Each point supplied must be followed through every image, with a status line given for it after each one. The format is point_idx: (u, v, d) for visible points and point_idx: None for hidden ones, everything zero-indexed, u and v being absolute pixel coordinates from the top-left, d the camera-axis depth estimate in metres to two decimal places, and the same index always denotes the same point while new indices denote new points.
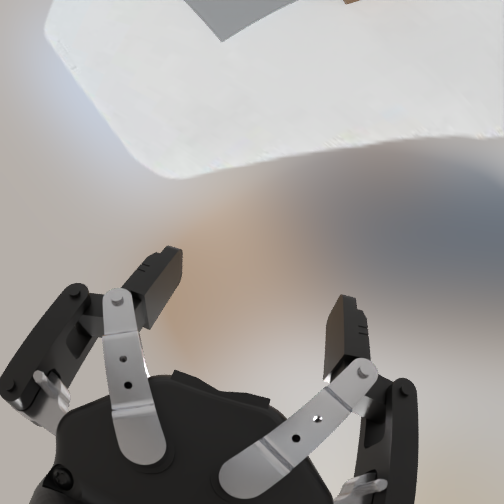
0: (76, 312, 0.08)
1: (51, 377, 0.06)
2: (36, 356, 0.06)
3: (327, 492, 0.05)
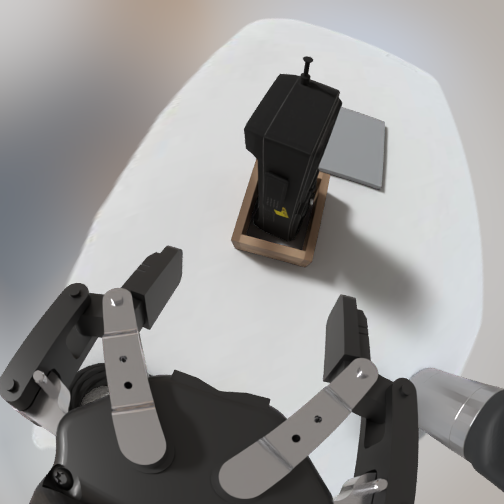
0: (76, 312, 0.08)
1: (51, 377, 0.06)
2: (36, 356, 0.06)
3: (327, 492, 0.05)
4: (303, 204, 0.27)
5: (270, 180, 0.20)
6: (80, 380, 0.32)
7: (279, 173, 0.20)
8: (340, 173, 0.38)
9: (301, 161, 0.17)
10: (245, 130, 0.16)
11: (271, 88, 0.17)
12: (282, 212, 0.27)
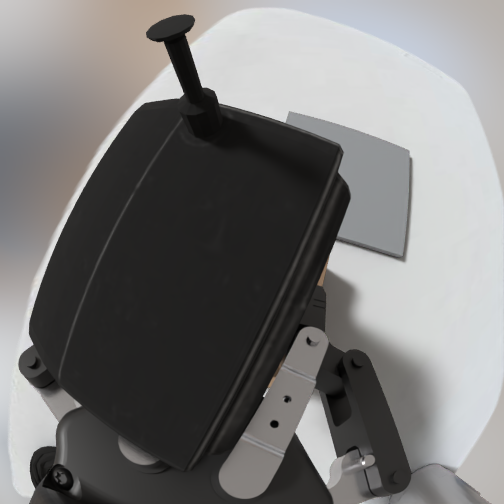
0: None
1: None
2: None
3: (327, 492, 0.05)
4: None
5: None
6: (41, 460, 0.19)
7: None
8: (346, 237, 0.26)
9: None
10: None
11: (97, 170, 0.05)
12: None
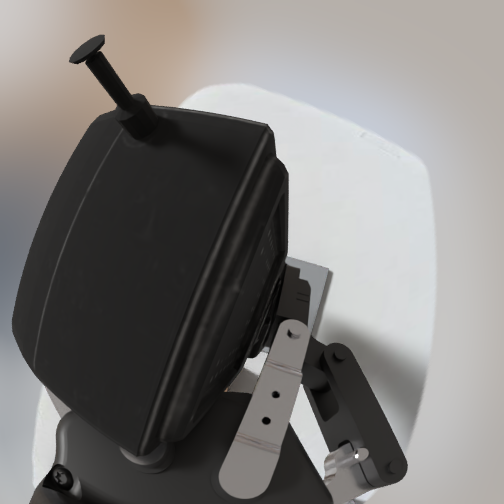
0: None
1: None
2: None
3: (327, 492, 0.05)
4: (260, 339, 0.15)
5: None
6: None
7: None
8: None
9: None
10: None
11: (60, 180, 0.05)
12: None
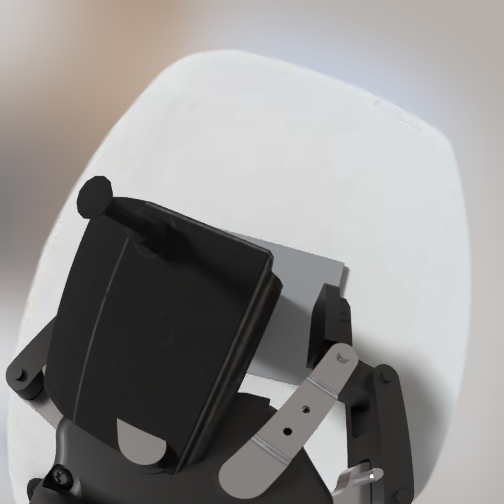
0: None
1: None
2: (48, 350, 0.07)
3: (327, 492, 0.05)
4: None
5: None
6: (35, 488, 0.20)
7: None
8: (247, 372, 0.26)
9: None
10: None
11: (74, 267, 0.06)
12: None
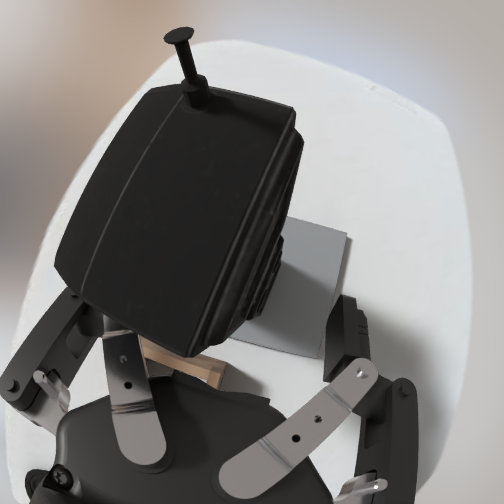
0: (76, 312, 0.08)
1: (51, 377, 0.06)
2: (36, 356, 0.06)
3: (327, 492, 0.05)
4: (256, 302, 0.17)
5: None
6: (33, 479, 0.20)
7: None
8: (253, 342, 0.27)
9: None
10: None
11: (118, 135, 0.07)
12: None
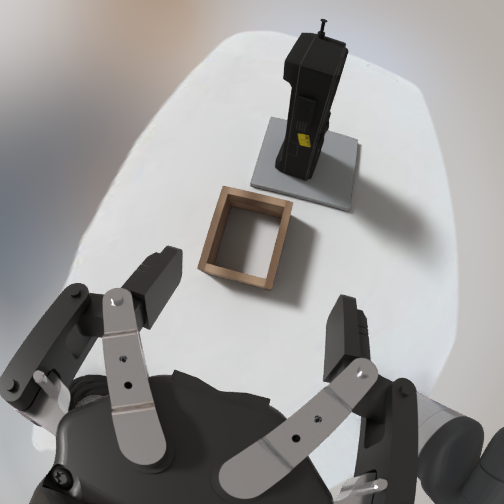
0: (76, 312, 0.08)
1: (51, 377, 0.06)
2: (36, 356, 0.06)
3: (327, 492, 0.05)
4: (321, 135, 0.31)
5: (302, 102, 0.23)
6: (73, 389, 0.34)
7: (308, 97, 0.23)
8: (307, 197, 0.41)
9: (327, 82, 0.20)
10: (285, 62, 0.20)
11: (298, 40, 0.20)
12: (305, 141, 0.31)
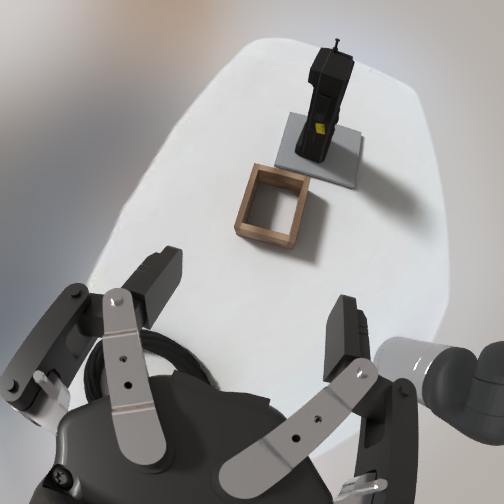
0: (76, 312, 0.08)
1: (51, 377, 0.06)
2: (36, 356, 0.06)
3: (327, 492, 0.05)
4: (333, 125, 0.39)
5: (320, 99, 0.32)
6: None
7: (325, 95, 0.31)
8: (321, 176, 0.49)
9: (339, 85, 0.28)
10: (310, 70, 0.28)
11: (318, 53, 0.29)
12: (321, 129, 0.39)
